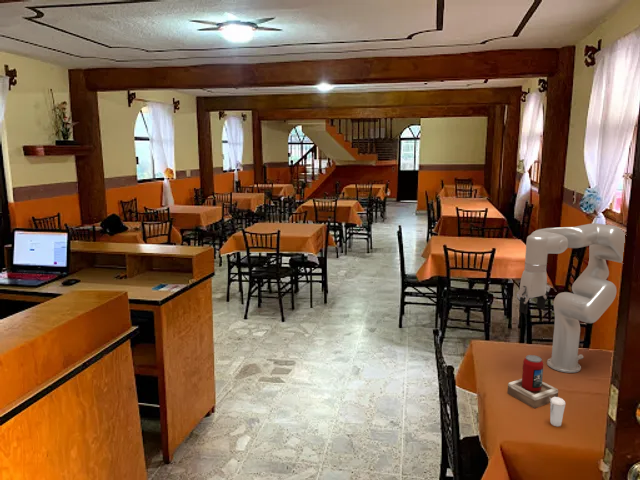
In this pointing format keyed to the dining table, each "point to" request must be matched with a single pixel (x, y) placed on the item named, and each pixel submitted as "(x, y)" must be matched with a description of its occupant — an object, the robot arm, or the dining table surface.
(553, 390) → the white square tray
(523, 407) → the dining table surface
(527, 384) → the beverage can
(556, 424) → the milkshake
